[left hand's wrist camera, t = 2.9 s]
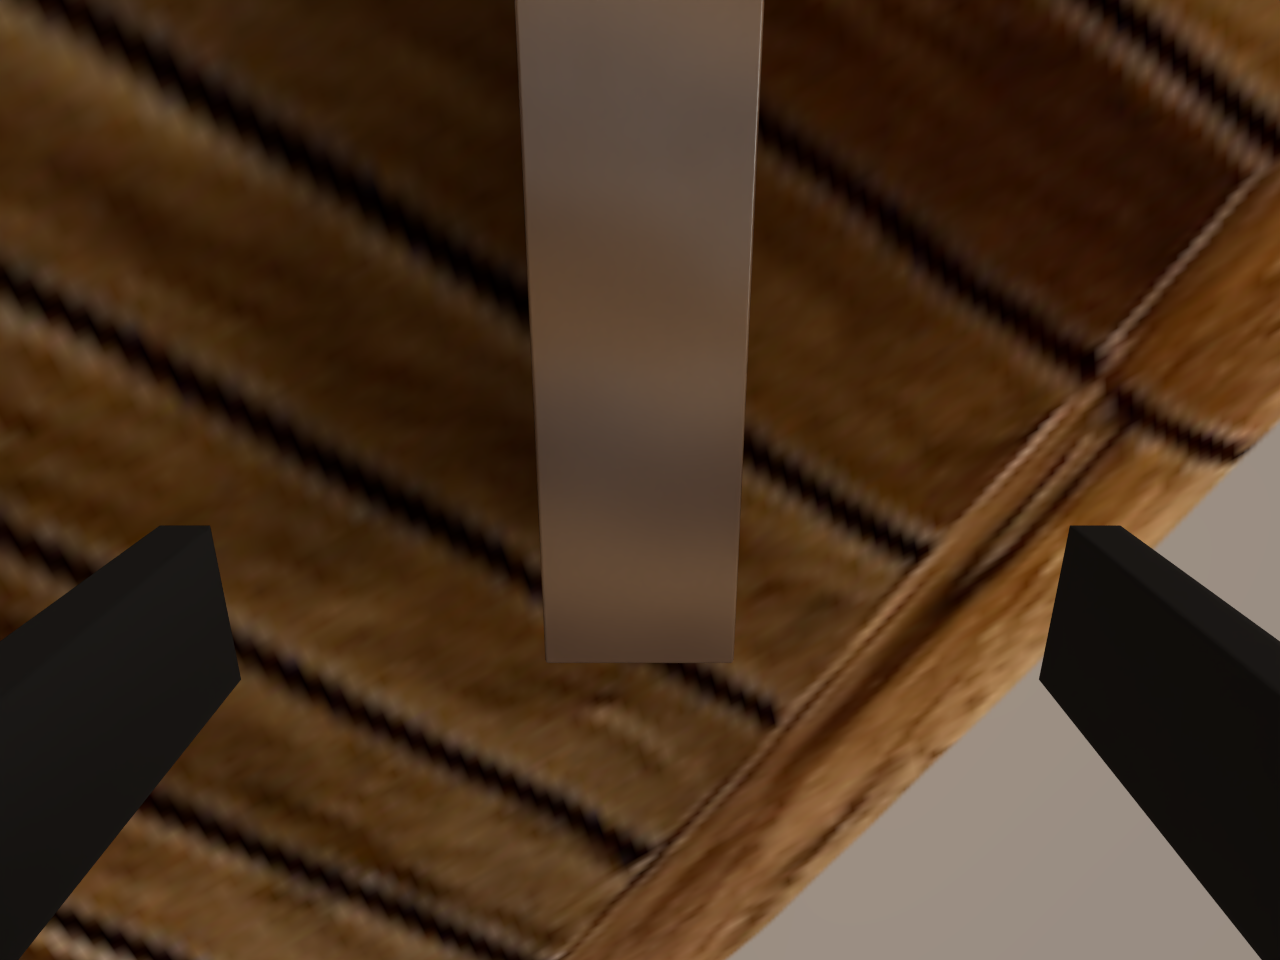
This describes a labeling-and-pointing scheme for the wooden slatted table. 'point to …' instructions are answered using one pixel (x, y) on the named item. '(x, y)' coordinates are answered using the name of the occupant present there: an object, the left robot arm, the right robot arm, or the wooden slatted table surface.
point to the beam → (639, 315)
